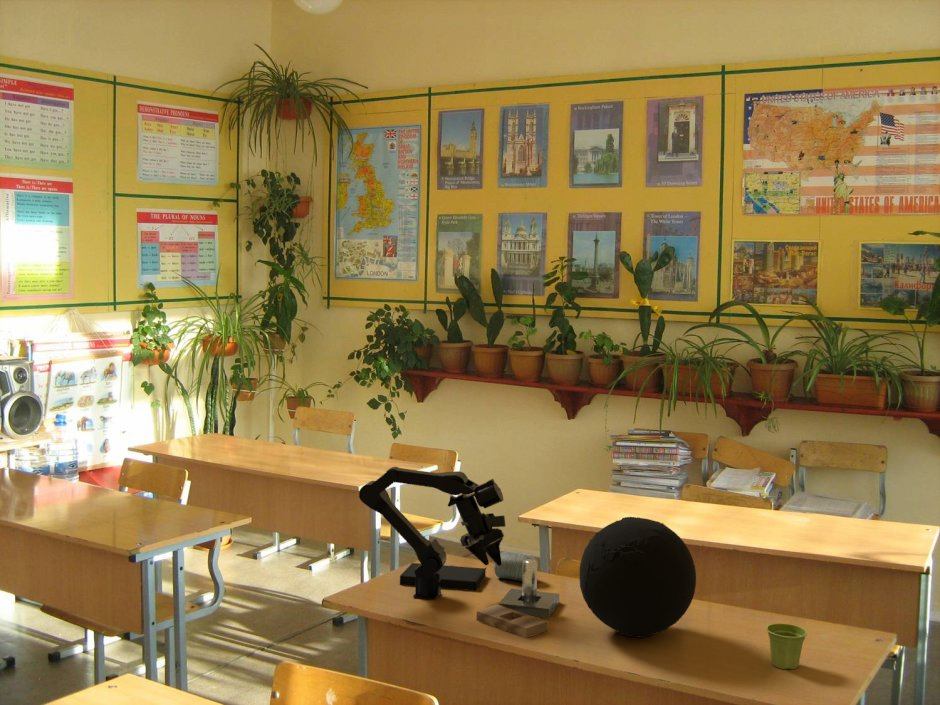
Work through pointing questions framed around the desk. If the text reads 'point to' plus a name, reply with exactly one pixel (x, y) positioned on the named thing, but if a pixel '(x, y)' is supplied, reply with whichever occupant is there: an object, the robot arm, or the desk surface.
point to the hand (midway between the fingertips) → (493, 565)
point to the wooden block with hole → (511, 621)
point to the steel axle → (529, 580)
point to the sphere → (637, 576)
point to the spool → (511, 566)
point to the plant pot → (786, 644)
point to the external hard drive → (449, 577)
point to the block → (531, 603)
